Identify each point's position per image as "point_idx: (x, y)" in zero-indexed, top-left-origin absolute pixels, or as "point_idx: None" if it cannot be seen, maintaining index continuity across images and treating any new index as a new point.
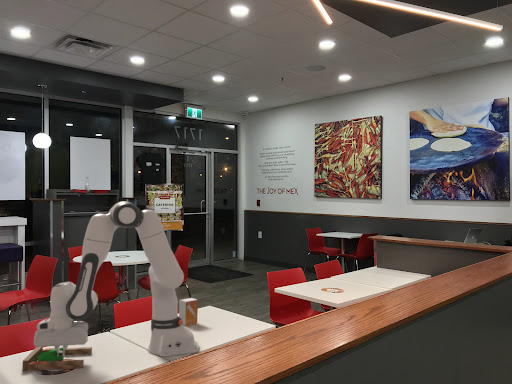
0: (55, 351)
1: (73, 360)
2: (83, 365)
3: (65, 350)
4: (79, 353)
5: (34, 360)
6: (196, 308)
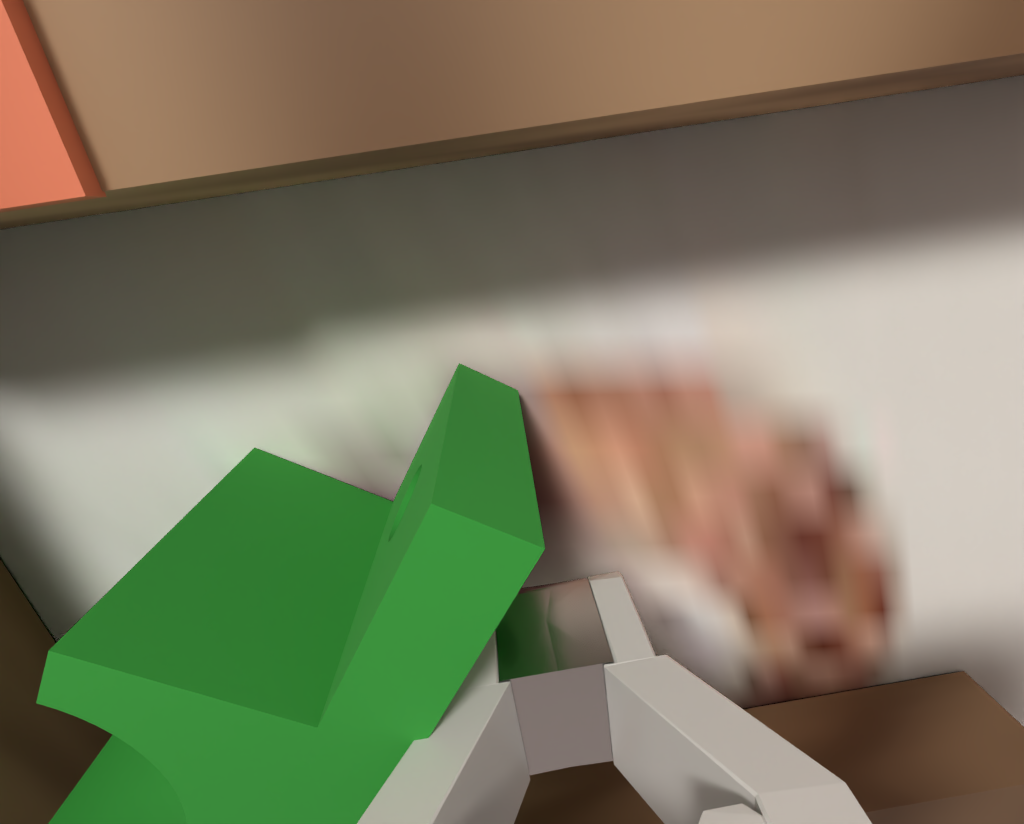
0: (390, 772)
1: (889, 816)
2: (972, 694)
3: (466, 138)
4: (873, 95)
5: (7, 721)
6: None
